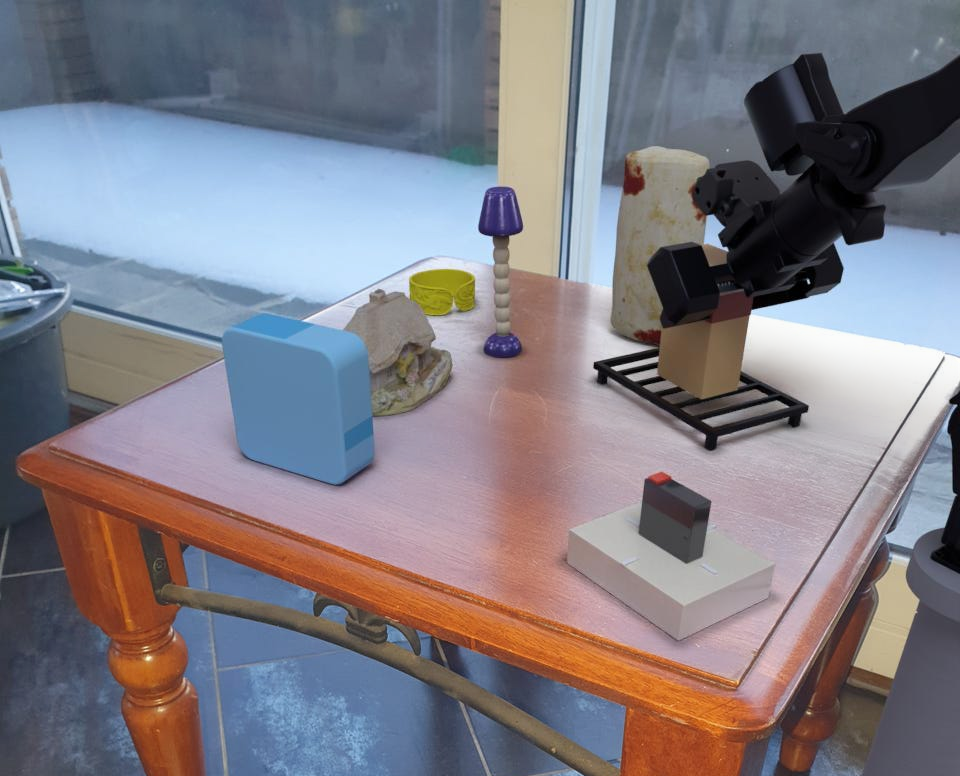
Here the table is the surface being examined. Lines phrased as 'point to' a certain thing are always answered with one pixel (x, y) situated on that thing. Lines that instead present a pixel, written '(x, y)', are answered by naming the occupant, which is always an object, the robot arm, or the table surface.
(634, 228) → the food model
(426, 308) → the bracelet
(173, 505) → the table surface
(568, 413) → the table surface
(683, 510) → the gray box
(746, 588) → the light grey block
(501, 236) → the toy lamp
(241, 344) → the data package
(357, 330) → the ceramic model
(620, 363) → the bed frame
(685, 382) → the packet
